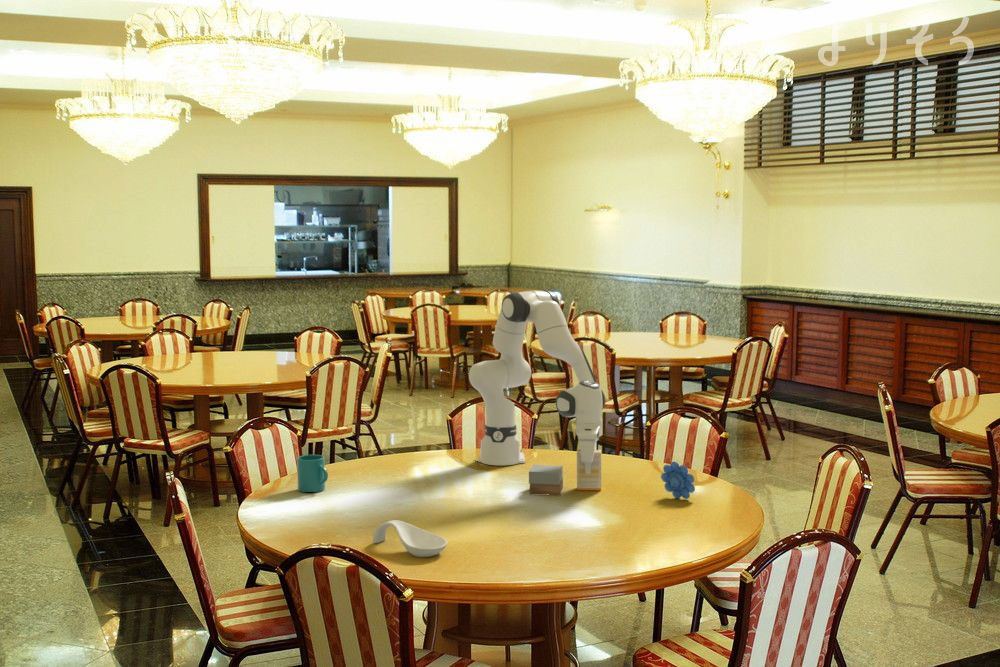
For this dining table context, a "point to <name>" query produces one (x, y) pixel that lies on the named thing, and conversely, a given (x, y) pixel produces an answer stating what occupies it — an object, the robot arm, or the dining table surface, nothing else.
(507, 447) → the robot arm
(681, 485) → the blue flower-shaped disc
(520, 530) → the dining table surface
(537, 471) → the tower top
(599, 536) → the dining table surface
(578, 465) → the supplement box
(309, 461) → the cup
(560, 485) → the tower bottom
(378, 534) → the spoon rest
